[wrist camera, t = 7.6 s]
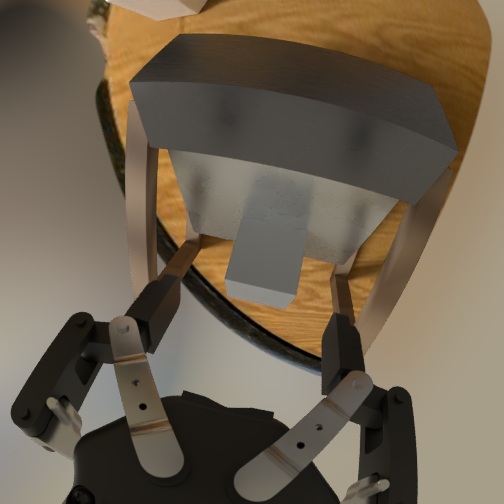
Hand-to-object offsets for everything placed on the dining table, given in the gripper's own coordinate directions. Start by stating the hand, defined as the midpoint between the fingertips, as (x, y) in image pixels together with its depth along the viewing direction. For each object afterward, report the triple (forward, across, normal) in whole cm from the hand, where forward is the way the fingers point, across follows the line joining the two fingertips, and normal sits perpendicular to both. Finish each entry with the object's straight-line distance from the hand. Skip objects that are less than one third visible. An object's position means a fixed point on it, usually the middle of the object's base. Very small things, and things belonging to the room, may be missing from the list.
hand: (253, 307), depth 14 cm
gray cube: (+10, 0, +1) cm, 10 cm away
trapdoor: (+8, 0, -6) cm, 10 cm away
